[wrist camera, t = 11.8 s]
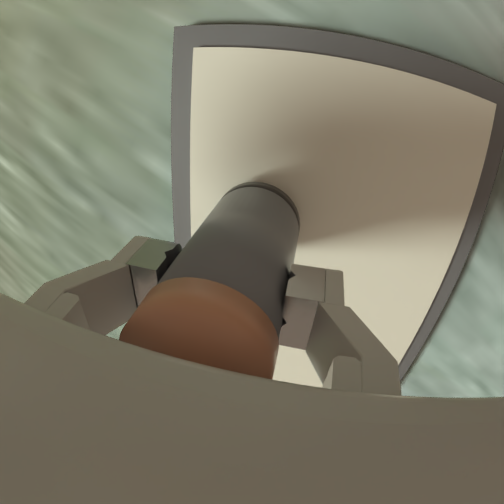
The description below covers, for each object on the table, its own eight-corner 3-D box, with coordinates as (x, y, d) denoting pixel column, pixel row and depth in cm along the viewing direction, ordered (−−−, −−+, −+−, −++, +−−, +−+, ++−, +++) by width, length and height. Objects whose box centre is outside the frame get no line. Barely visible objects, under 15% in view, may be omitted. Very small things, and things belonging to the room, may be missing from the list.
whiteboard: (182, 28, 11) (171, 25, 10) (505, 87, 9) (517, 90, 8) (195, 395, 24) (191, 405, 23) (362, 424, 22) (362, 435, 21)
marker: (216, 175, 12) (104, 296, 6) (307, 187, 12) (280, 338, 5) (214, 252, 14) (135, 392, 8) (294, 266, 13) (261, 427, 7)
